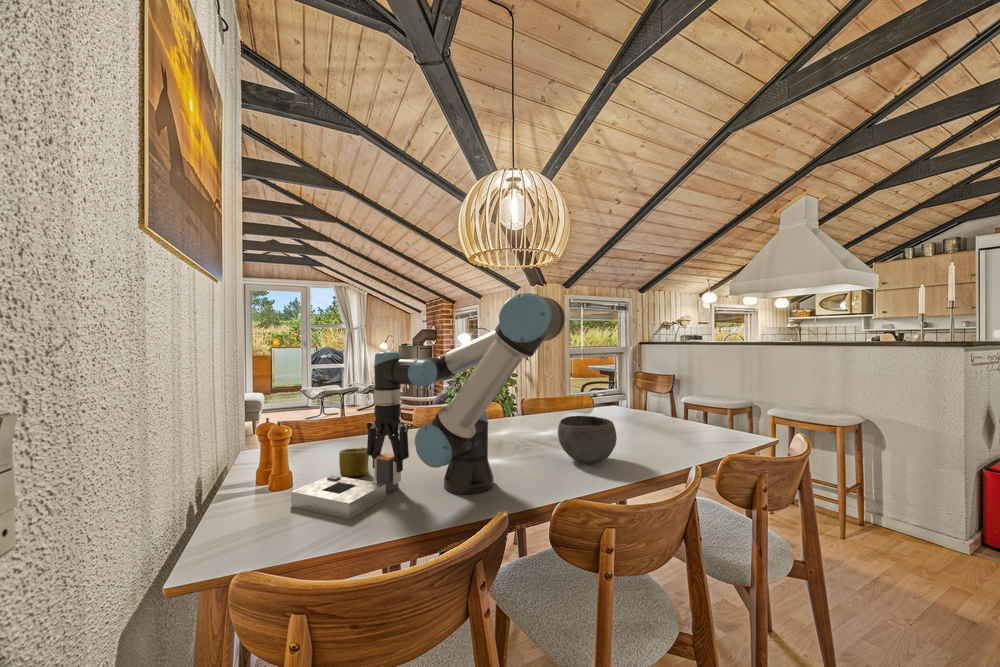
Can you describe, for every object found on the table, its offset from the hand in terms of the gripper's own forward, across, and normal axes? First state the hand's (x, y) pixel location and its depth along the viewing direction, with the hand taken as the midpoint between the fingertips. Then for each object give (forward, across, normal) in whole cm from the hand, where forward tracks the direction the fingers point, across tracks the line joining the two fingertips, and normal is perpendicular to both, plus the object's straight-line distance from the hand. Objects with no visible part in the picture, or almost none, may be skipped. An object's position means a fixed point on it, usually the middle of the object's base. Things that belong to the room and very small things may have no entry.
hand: (387, 480), depth 121 cm
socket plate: (+2, +6, +13) cm, 15 cm away
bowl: (+3, -50, -49) cm, 70 cm away
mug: (+3, +19, -8) cm, 21 cm away
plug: (+2, 0, 0) cm, 2 cm away
